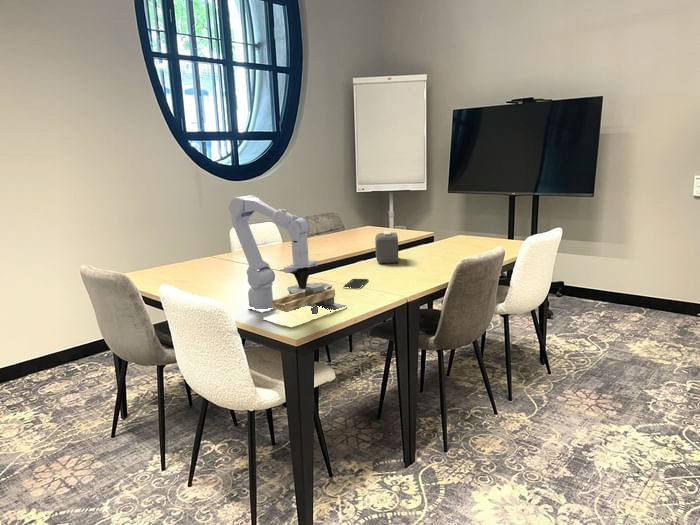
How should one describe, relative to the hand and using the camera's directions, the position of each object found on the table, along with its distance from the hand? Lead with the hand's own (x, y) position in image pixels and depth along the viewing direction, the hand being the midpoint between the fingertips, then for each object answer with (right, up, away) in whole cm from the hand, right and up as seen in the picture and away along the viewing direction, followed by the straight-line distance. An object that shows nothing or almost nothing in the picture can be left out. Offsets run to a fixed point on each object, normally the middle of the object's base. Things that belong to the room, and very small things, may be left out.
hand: (302, 288), depth 192 cm
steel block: (+4, -3, +5) cm, 7 cm away
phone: (+20, -1, +42) cm, 47 cm away
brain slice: (0, -4, +30) cm, 30 cm away
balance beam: (+1, -8, +2) cm, 8 cm away
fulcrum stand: (+1, -10, +2) cm, 10 cm away
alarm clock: (+37, +10, +88) cm, 96 cm away
